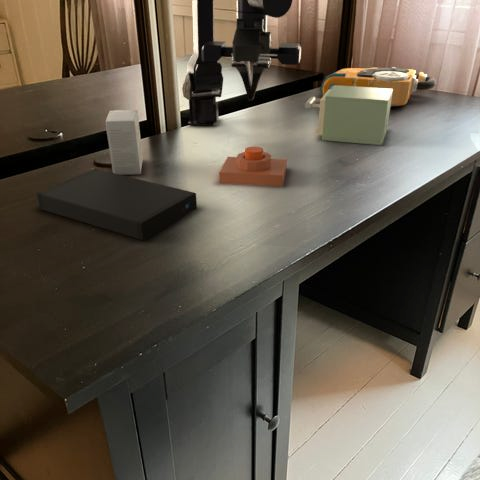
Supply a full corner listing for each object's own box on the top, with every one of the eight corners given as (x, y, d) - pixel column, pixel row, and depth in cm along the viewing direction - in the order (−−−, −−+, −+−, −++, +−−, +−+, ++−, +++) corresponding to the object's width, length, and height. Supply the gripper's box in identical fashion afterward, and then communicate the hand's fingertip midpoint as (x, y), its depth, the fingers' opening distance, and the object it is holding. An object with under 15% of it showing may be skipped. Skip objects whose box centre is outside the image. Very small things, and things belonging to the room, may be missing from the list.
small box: (116, 162, 112) (109, 109, 106) (143, 161, 112) (137, 109, 106) (112, 175, 105) (104, 121, 99) (141, 174, 106) (134, 120, 100)
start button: (243, 161, 101) (243, 151, 100) (246, 154, 104) (246, 145, 103) (262, 161, 101) (262, 152, 100) (264, 155, 104) (264, 146, 103)
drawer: (301, 133, 124) (303, 98, 120) (310, 121, 132) (312, 88, 128) (372, 139, 120) (377, 103, 116) (377, 127, 128) (382, 92, 124)
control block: (219, 183, 102) (218, 162, 99) (227, 167, 109) (227, 147, 107) (282, 186, 100) (283, 165, 98) (286, 170, 107) (287, 150, 105)
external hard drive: (98, 183, 102) (96, 168, 100) (197, 208, 92) (196, 192, 90) (40, 209, 92) (36, 193, 90) (143, 241, 82) (141, 223, 80)
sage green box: (321, 140, 123) (325, 96, 118) (330, 126, 132) (334, 85, 127) (381, 145, 120) (388, 100, 114) (386, 131, 129) (393, 88, 123)
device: (336, 59, 162) (439, 64, 154) (333, 88, 167) (433, 94, 159) (320, 73, 144) (436, 79, 136) (318, 105, 149) (429, 113, 141)
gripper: (192, 15, 93) (196, 108, 102) (299, 18, 91) (293, 113, 100) (206, 8, 102) (209, 94, 111) (303, 10, 100) (298, 97, 109)
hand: (251, 99), depth 108 cm, fingers closed
